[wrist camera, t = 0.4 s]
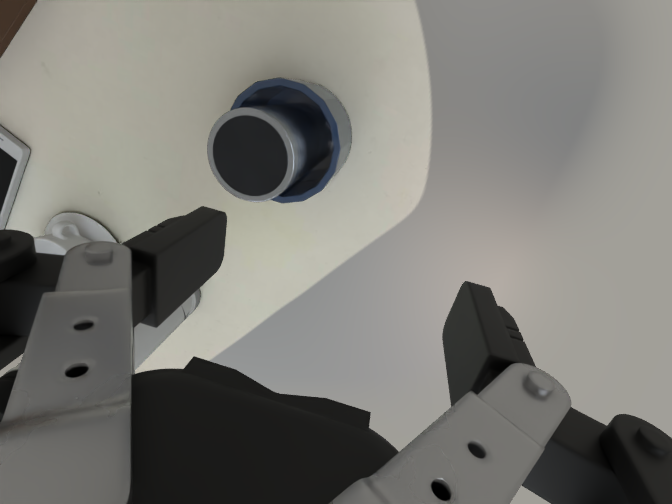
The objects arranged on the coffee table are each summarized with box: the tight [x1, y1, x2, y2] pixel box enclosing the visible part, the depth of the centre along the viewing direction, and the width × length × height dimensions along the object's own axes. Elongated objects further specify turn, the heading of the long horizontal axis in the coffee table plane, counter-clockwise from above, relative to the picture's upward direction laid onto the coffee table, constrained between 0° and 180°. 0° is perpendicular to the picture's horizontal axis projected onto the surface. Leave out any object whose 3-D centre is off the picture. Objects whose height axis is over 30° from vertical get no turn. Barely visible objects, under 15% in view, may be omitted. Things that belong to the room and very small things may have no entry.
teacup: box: [34, 213, 117, 255], centre depth 39 cm, size 10×10×5 cm
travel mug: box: [0, 289, 200, 422], centre depth 32 cm, size 6×7×20 cm
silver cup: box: [207, 102, 332, 202], centre depth 26 cm, size 5×5×11 cm
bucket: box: [230, 78, 352, 203], centre depth 29 cm, size 9×9×6 cm
